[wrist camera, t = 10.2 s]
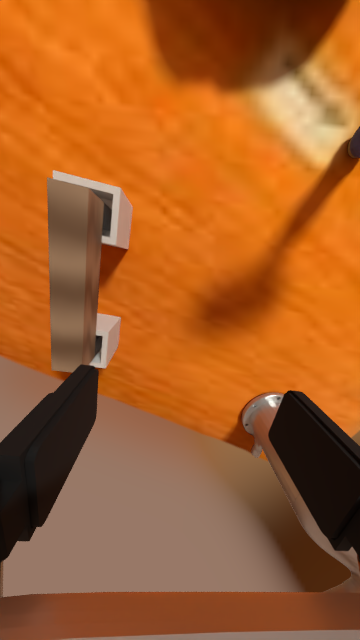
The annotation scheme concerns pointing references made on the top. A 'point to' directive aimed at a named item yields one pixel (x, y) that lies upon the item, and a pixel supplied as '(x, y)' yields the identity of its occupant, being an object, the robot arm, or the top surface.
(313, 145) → the top surface
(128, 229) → the twin hollow square sockets
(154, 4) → the top surface
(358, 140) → the rubber mallet
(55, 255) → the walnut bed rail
